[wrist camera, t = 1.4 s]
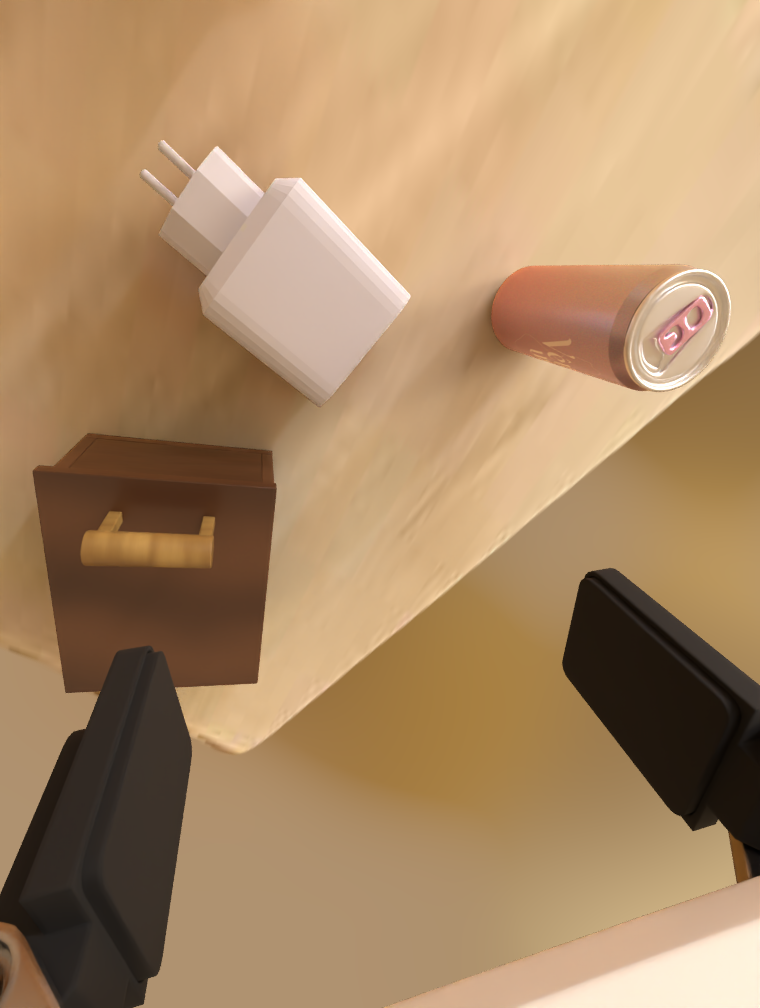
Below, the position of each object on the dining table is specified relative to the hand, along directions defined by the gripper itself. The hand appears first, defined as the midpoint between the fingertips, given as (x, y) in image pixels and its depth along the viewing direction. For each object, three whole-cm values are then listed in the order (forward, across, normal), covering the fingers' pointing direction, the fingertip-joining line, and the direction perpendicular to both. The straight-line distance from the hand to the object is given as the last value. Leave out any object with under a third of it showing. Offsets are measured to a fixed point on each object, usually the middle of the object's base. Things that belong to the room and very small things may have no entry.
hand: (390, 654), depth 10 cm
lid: (+19, +10, +10) cm, 24 cm away
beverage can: (+27, -18, -5) cm, 33 cm away
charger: (+27, +1, -8) cm, 28 cm away
